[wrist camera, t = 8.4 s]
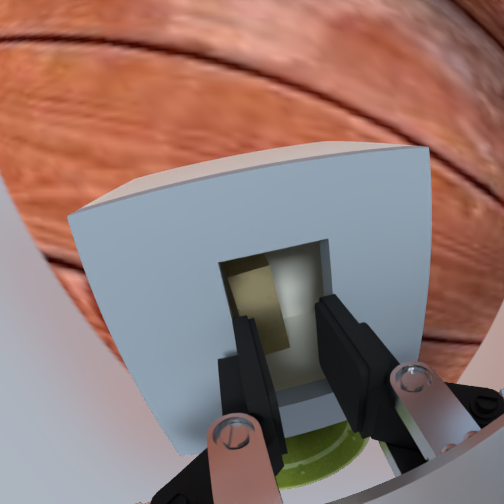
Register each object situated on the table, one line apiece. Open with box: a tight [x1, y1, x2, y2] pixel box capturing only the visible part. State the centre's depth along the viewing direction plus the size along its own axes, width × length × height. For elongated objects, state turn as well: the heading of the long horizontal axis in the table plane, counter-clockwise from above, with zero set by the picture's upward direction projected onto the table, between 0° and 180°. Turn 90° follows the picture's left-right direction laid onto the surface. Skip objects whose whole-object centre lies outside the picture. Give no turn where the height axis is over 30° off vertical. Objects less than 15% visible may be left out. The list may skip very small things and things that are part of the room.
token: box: [225, 253, 290, 355], centre depth 17 cm, size 5×2×5 cm, turn 14°
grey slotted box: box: [67, 141, 432, 456], centre depth 15 cm, size 12×12×10 cm
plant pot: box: [276, 420, 369, 490], centre depth 20 cm, size 9×9×9 cm
